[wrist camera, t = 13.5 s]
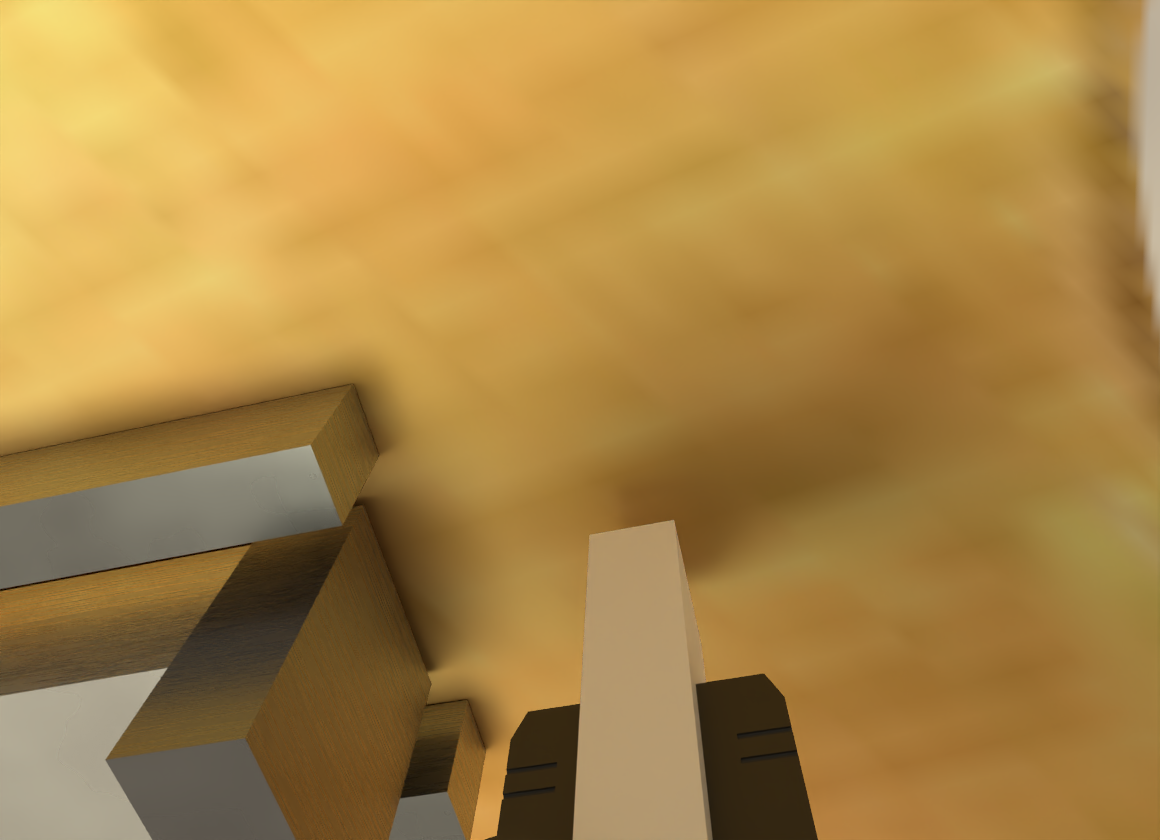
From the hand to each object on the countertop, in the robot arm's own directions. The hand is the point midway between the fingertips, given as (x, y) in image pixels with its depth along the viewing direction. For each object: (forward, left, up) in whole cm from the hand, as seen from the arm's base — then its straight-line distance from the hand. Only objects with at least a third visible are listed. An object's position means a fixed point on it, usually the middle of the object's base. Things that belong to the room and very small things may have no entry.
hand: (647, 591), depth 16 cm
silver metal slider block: (+11, 0, -1) cm, 11 cm away
